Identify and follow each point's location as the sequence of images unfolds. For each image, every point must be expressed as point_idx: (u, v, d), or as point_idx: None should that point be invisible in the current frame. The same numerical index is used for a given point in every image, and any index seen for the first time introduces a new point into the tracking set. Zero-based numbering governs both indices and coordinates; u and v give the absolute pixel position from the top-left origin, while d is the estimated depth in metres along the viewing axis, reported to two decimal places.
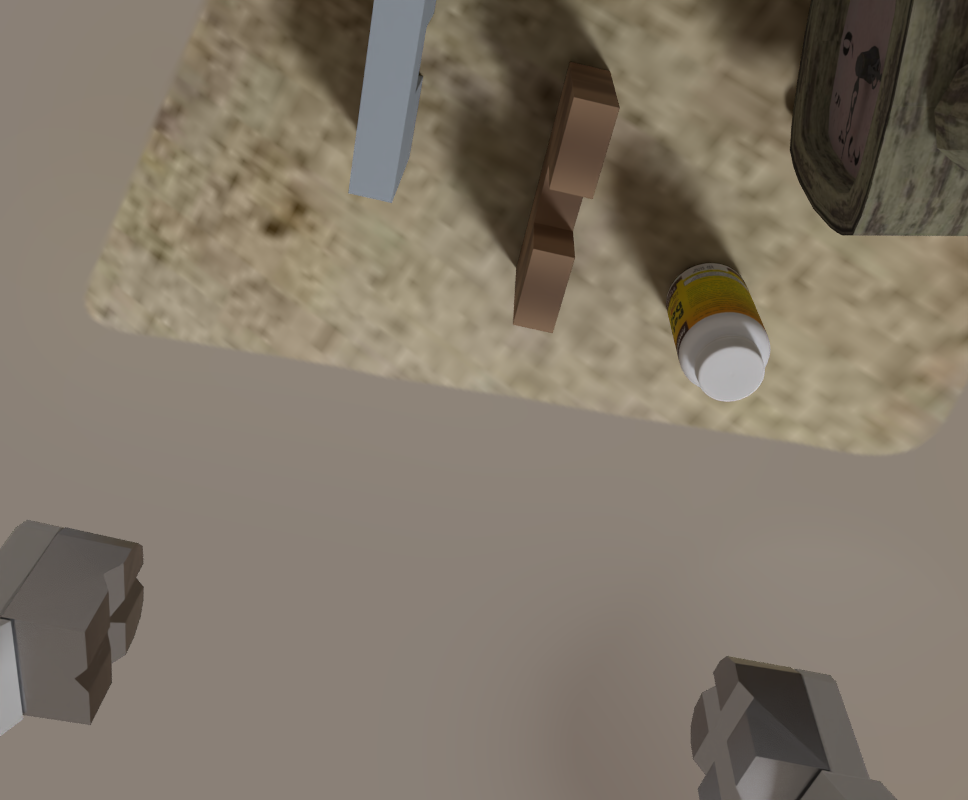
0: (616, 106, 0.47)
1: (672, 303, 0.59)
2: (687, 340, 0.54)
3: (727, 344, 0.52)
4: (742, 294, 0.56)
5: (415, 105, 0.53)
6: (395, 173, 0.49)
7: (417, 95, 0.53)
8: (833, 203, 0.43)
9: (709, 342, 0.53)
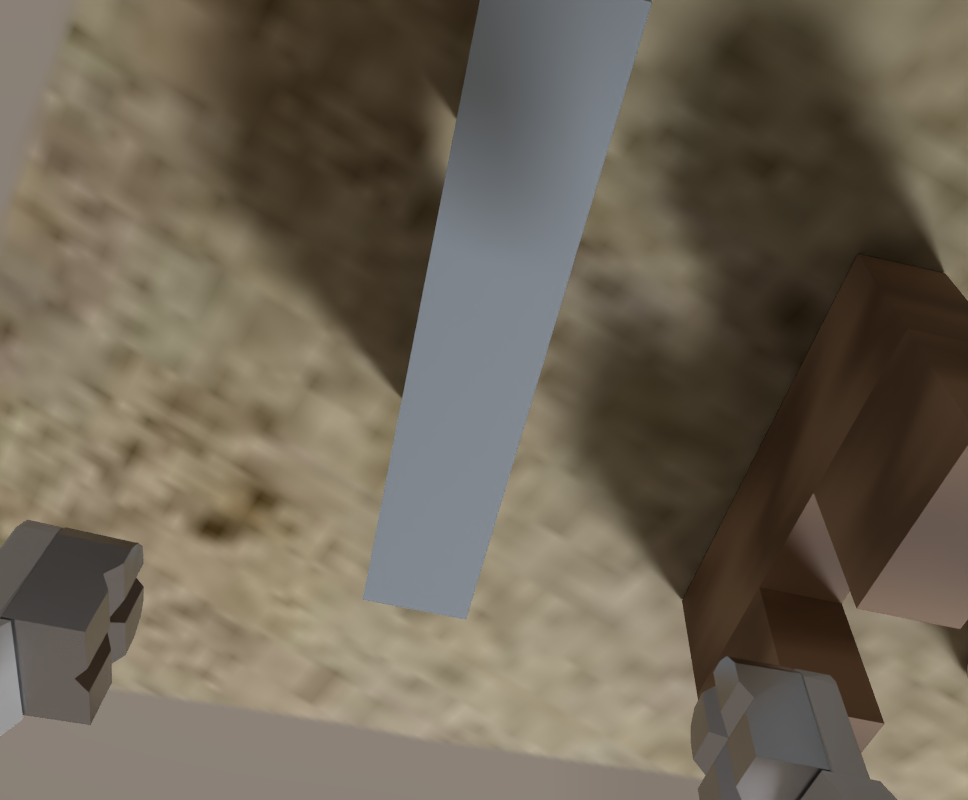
0: None
1: None
2: None
3: None
4: None
5: None
6: (478, 568, 0.20)
7: None
8: None
9: None
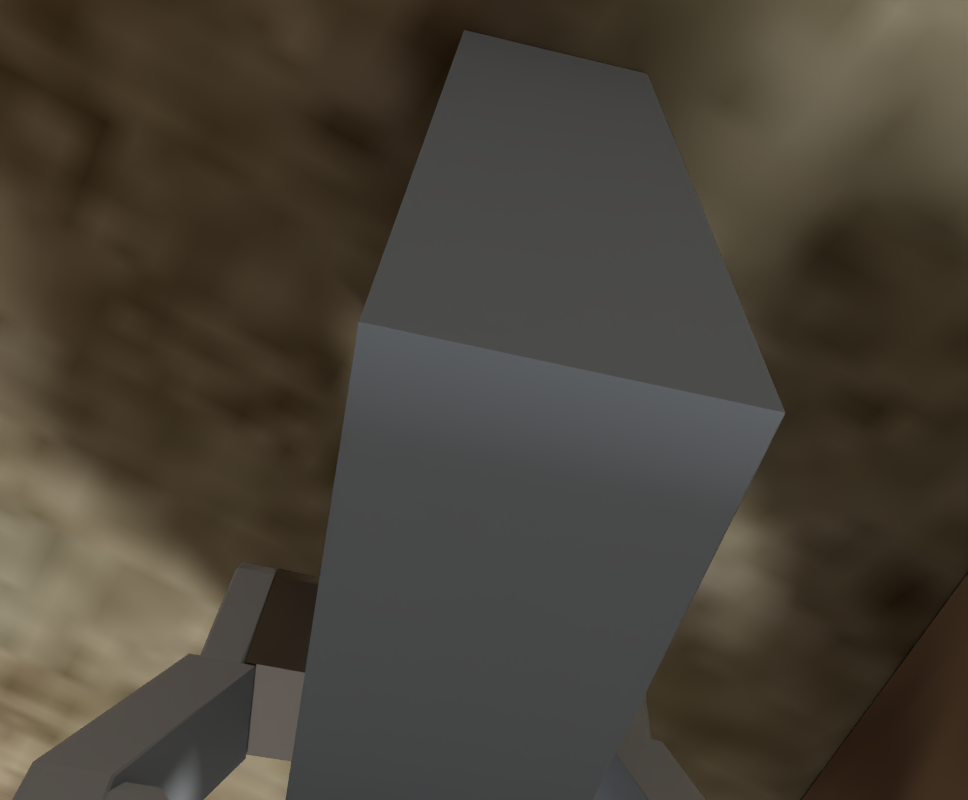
0: None
1: None
2: None
3: None
4: None
5: None
6: None
7: None
8: None
9: None
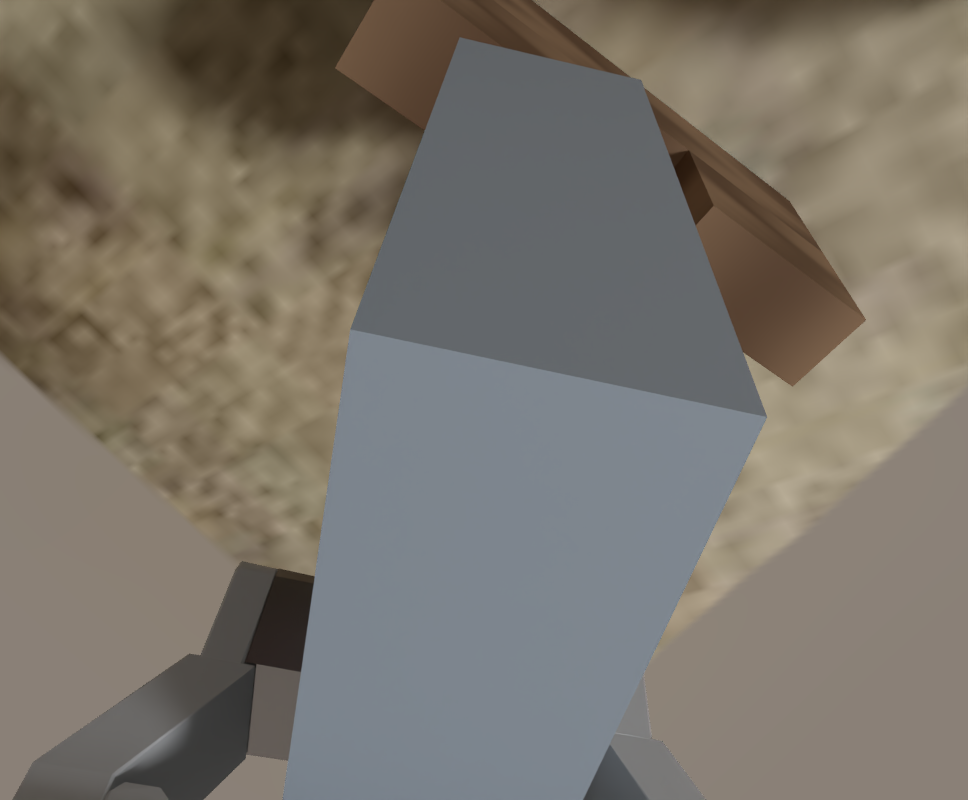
0: None
1: None
2: None
3: None
4: None
5: None
6: None
7: None
8: None
9: None
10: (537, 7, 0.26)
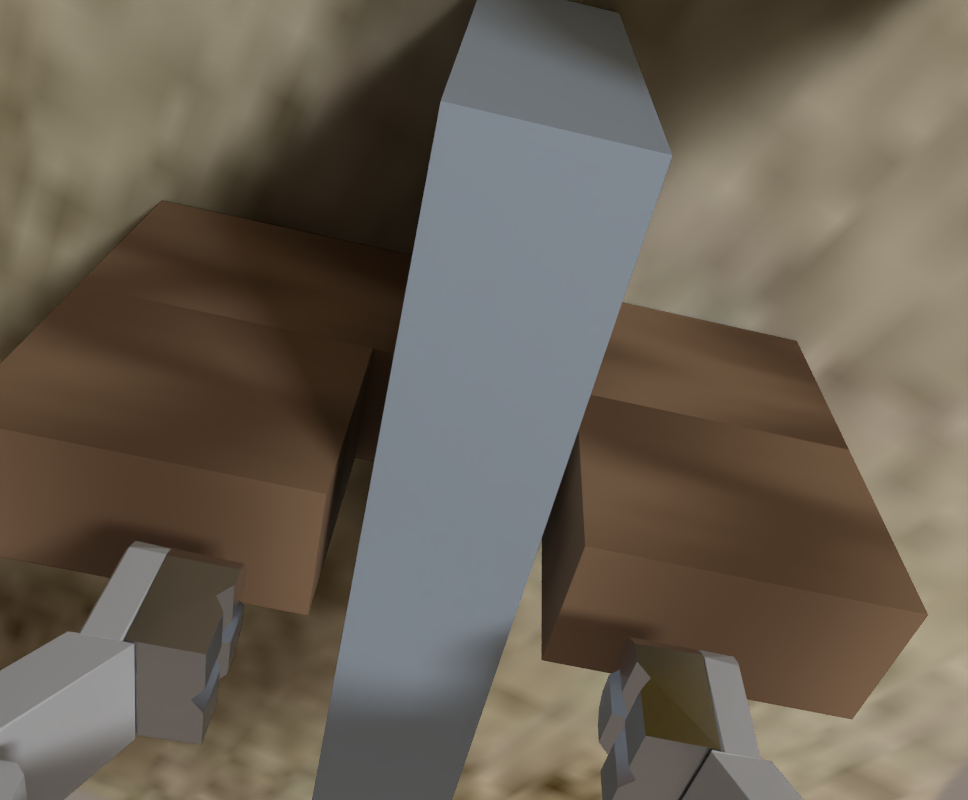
0: None
1: None
2: None
3: None
4: None
5: None
6: (448, 799, 0.16)
7: None
8: None
9: None
10: (333, 246, 0.18)
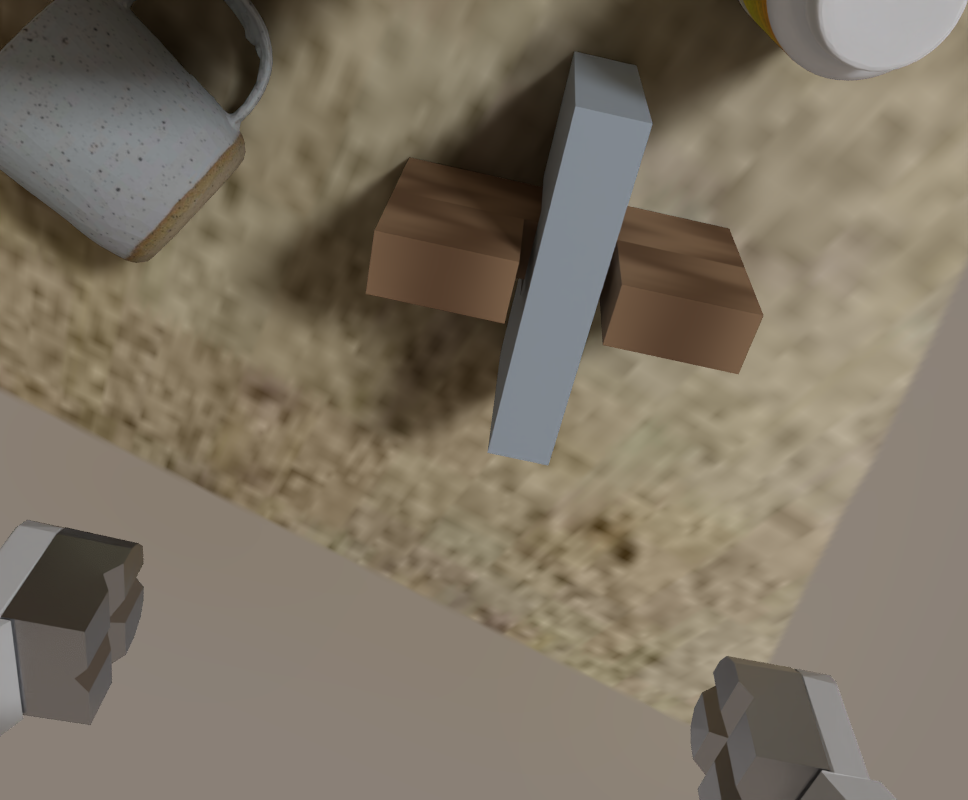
0: None
1: None
2: (817, 72, 0.27)
3: (813, 12, 0.24)
4: None
5: None
6: (557, 430, 0.35)
7: None
8: None
9: None
10: (494, 179, 0.37)
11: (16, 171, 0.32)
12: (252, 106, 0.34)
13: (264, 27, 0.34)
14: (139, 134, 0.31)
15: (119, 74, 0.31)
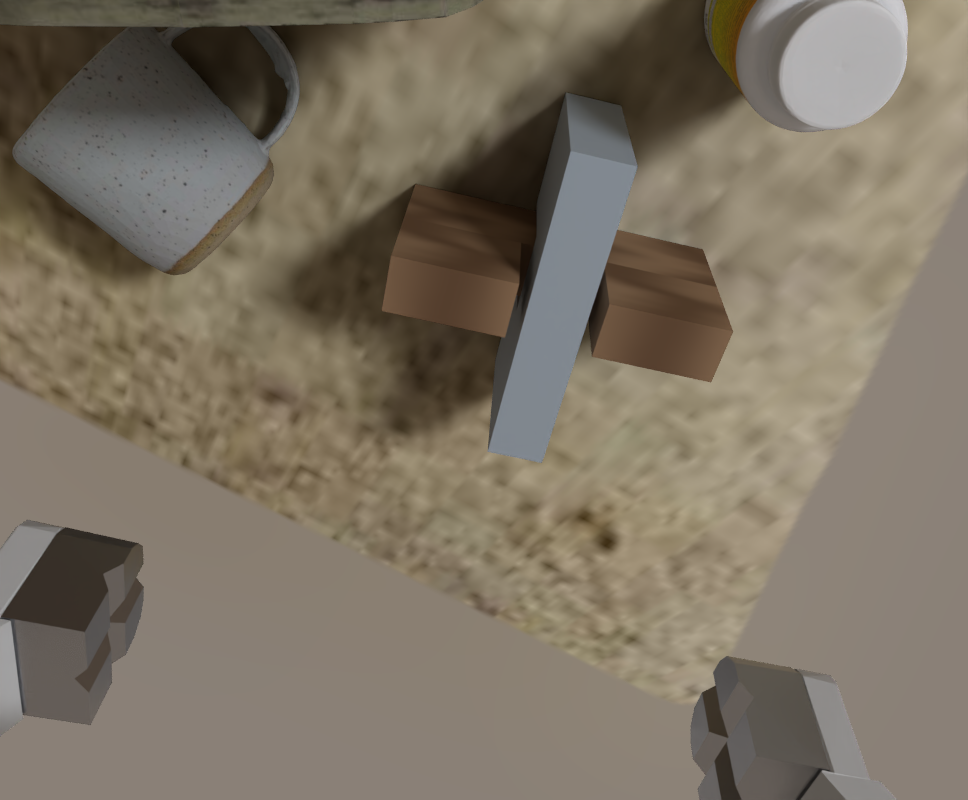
0: (391, 257, 0.35)
1: None
2: (779, 125, 0.31)
3: (775, 79, 0.28)
4: None
5: None
6: (550, 431, 0.39)
7: None
8: None
9: (777, 99, 0.29)
10: (492, 204, 0.41)
11: (70, 193, 0.35)
12: (281, 134, 0.38)
13: (293, 63, 0.37)
14: (184, 162, 0.34)
15: (167, 108, 0.34)
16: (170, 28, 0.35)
